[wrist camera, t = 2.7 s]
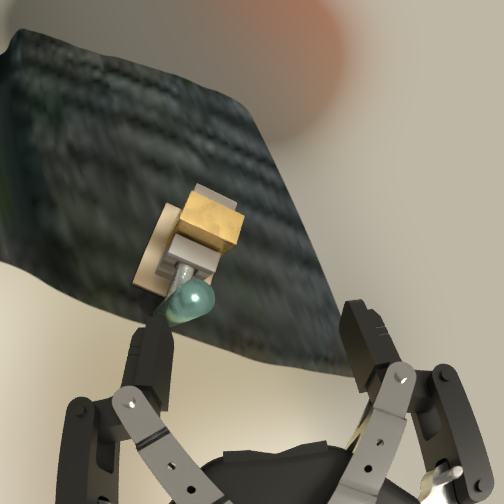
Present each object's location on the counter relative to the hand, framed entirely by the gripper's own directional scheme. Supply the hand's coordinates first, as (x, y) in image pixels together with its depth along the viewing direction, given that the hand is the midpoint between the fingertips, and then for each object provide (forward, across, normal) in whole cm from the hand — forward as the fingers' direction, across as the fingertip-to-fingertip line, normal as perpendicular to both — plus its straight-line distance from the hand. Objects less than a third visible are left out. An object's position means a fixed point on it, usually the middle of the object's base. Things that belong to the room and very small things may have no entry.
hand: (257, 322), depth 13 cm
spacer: (+26, -7, -13) cm, 30 cm away
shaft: (+24, -9, -15) cm, 29 cm away
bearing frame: (+29, -9, -16) cm, 34 cm away
